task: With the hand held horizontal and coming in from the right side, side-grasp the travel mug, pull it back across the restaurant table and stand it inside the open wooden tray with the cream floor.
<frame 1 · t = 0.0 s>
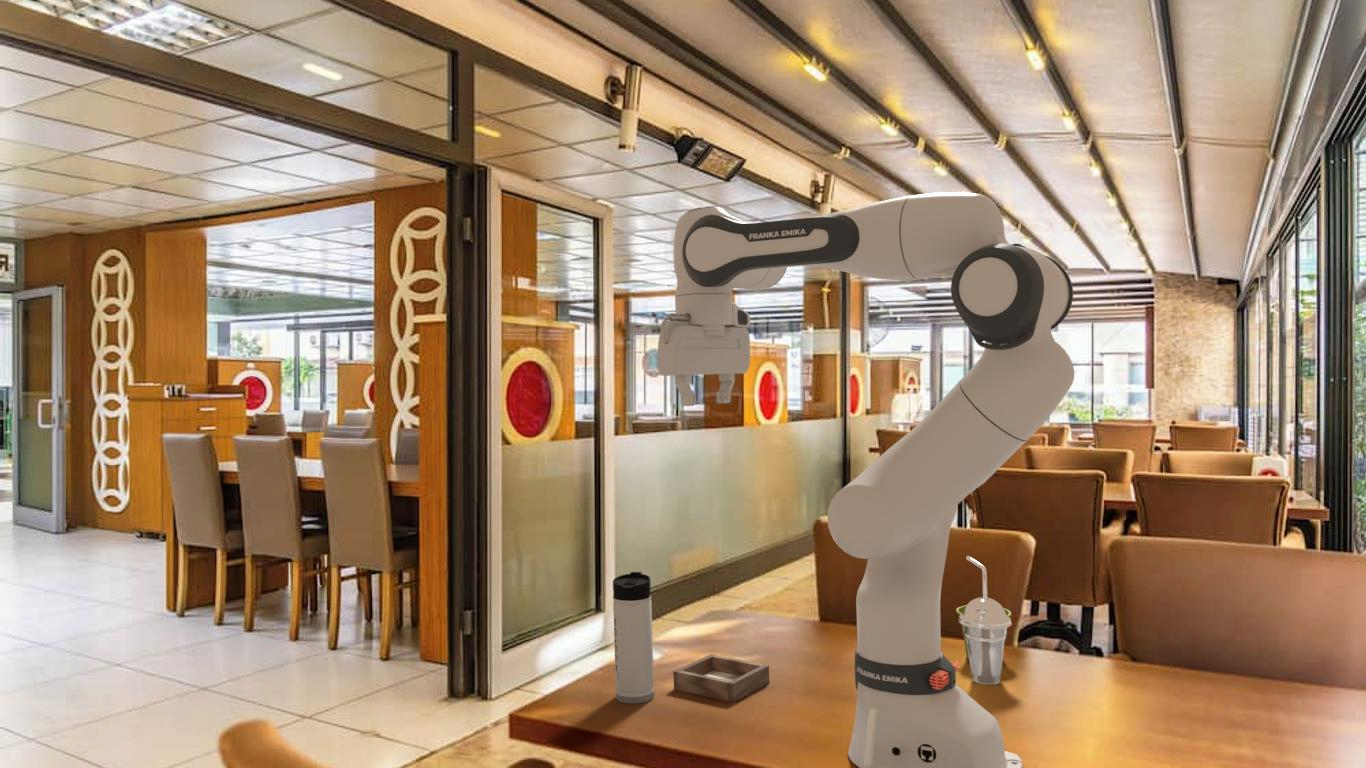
hand: (706, 404, 144), 48 cm above the table, tool pointing down, fingers open, 8 cm apart
plant pot: (984, 660, 168), on the table
open wooden tray: (721, 686, 157), on the table
travel mug: (635, 698, 153), on the table
cup with straw: (986, 680, 156), on the table
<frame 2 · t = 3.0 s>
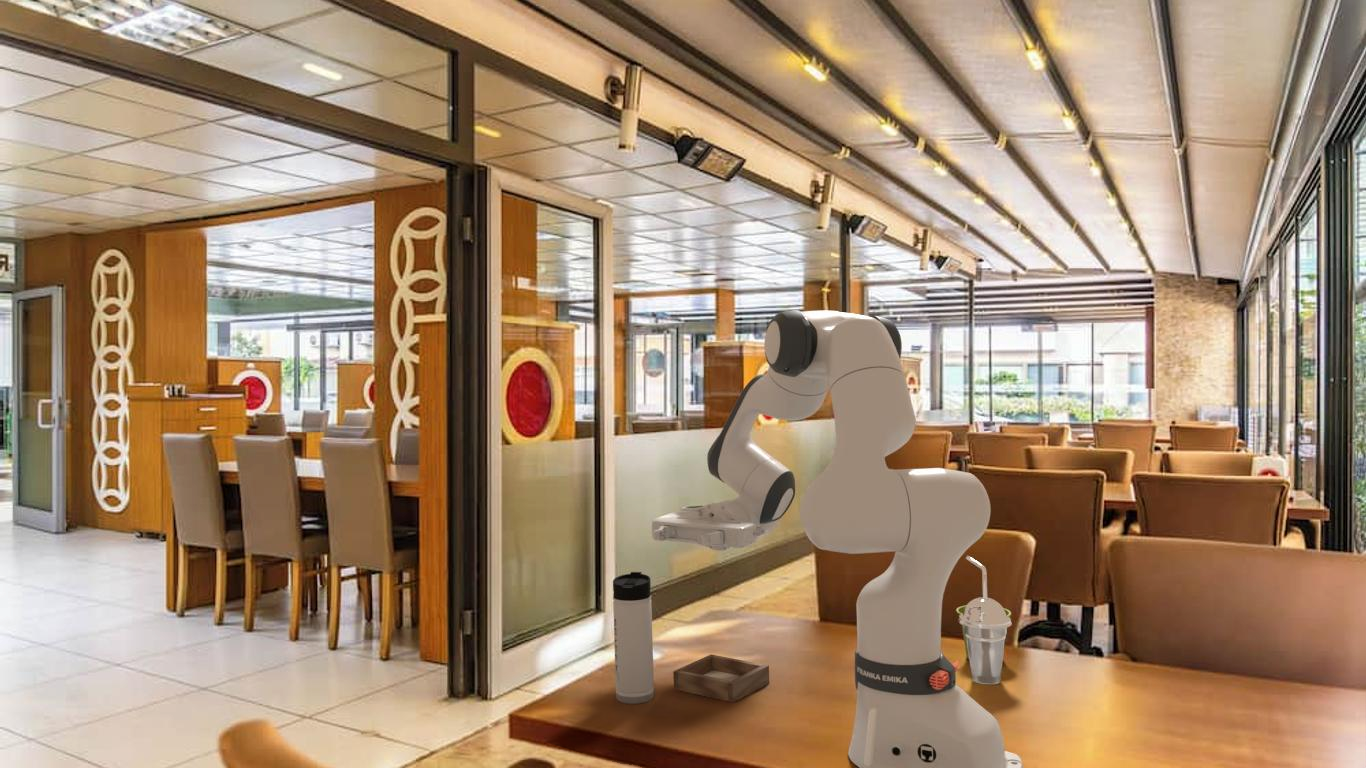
hand: (677, 538, 163), 24 cm above the table, tool horizontal, fingers open, 8 cm apart
nothing on the table moved.
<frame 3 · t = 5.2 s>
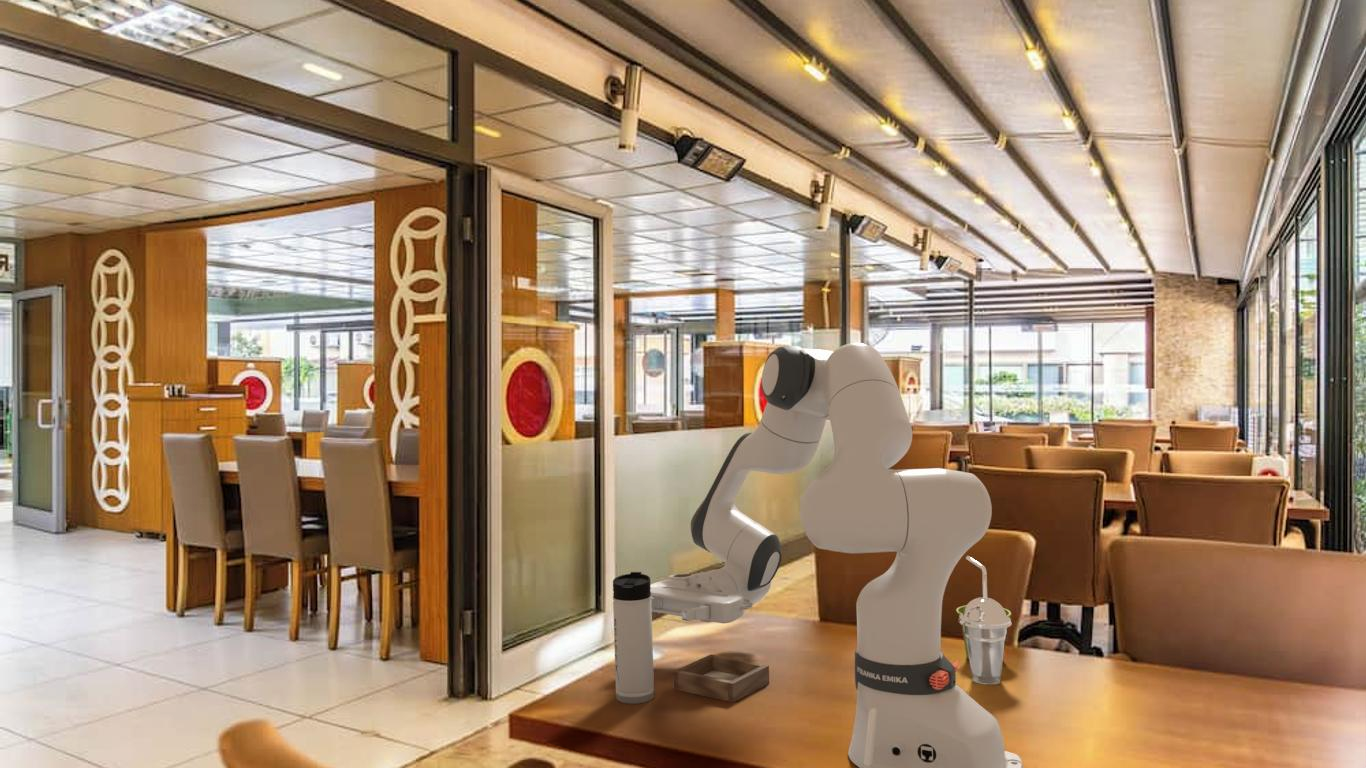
hand: (663, 612, 160), 12 cm above the table, tool horizontal, fingers open, 8 cm apart
nothing on the table moved.
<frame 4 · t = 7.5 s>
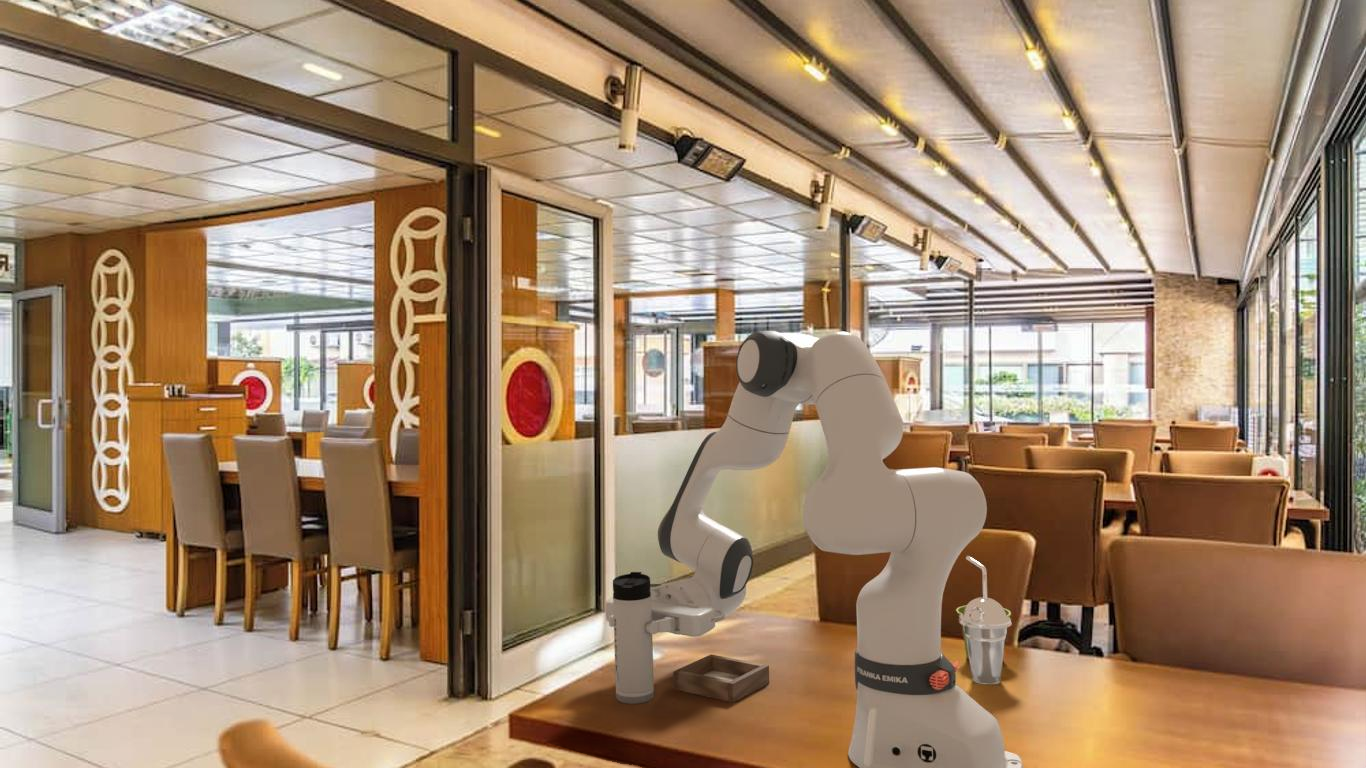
hand: (629, 625, 152), 12 cm above the table, tool horizontal, fingers closed on travel mug, 6 cm apart
travel mug: (635, 698, 153), on the table, touching gripper
everything else where it was.
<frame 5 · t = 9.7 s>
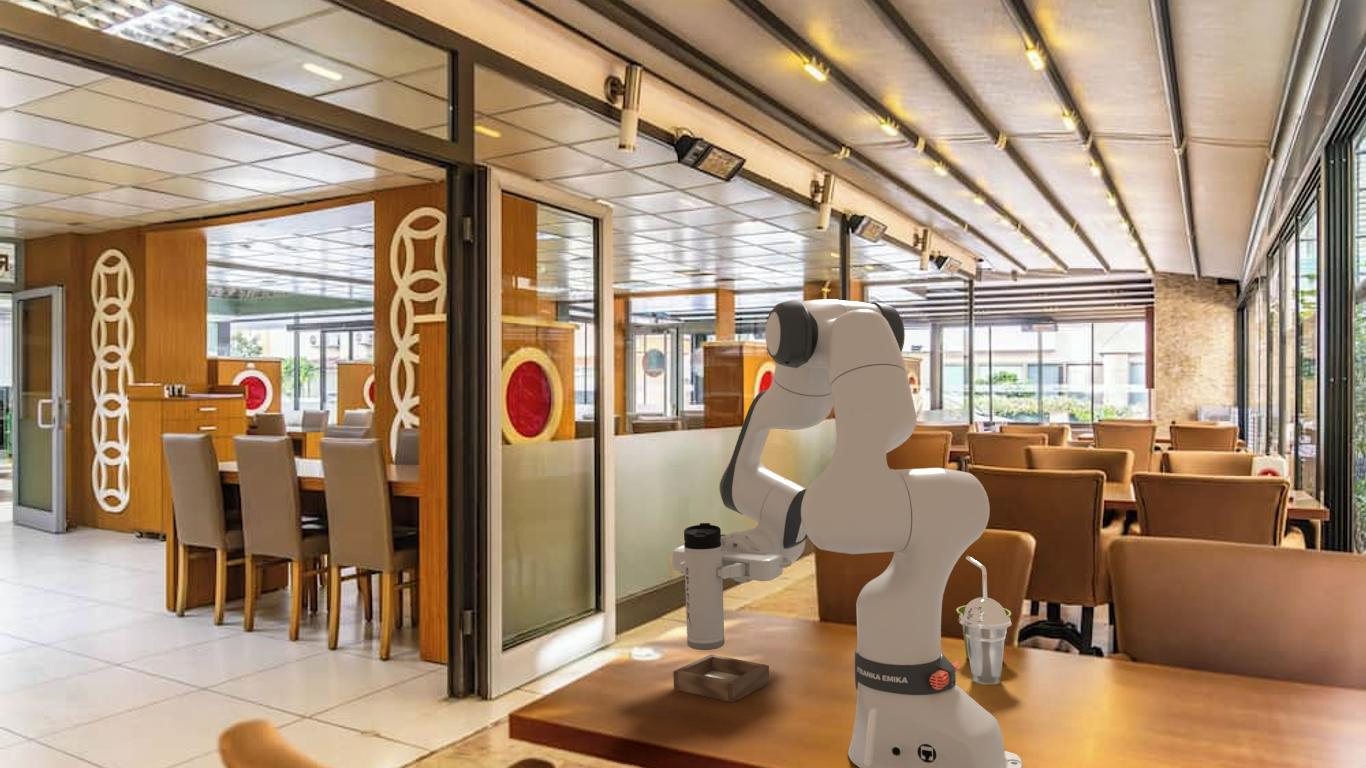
hand: (701, 571, 156), 20 cm above the table, tool horizontal, fingers closed on travel mug, 6 cm apart
travel mug: (706, 645, 157), point 7 cm above the table, touching gripper
everything else where it was.
when the fingers open (14 cm above the table, at t = 12.0 s): travel mug stays where it is, resting on open wooden tray.
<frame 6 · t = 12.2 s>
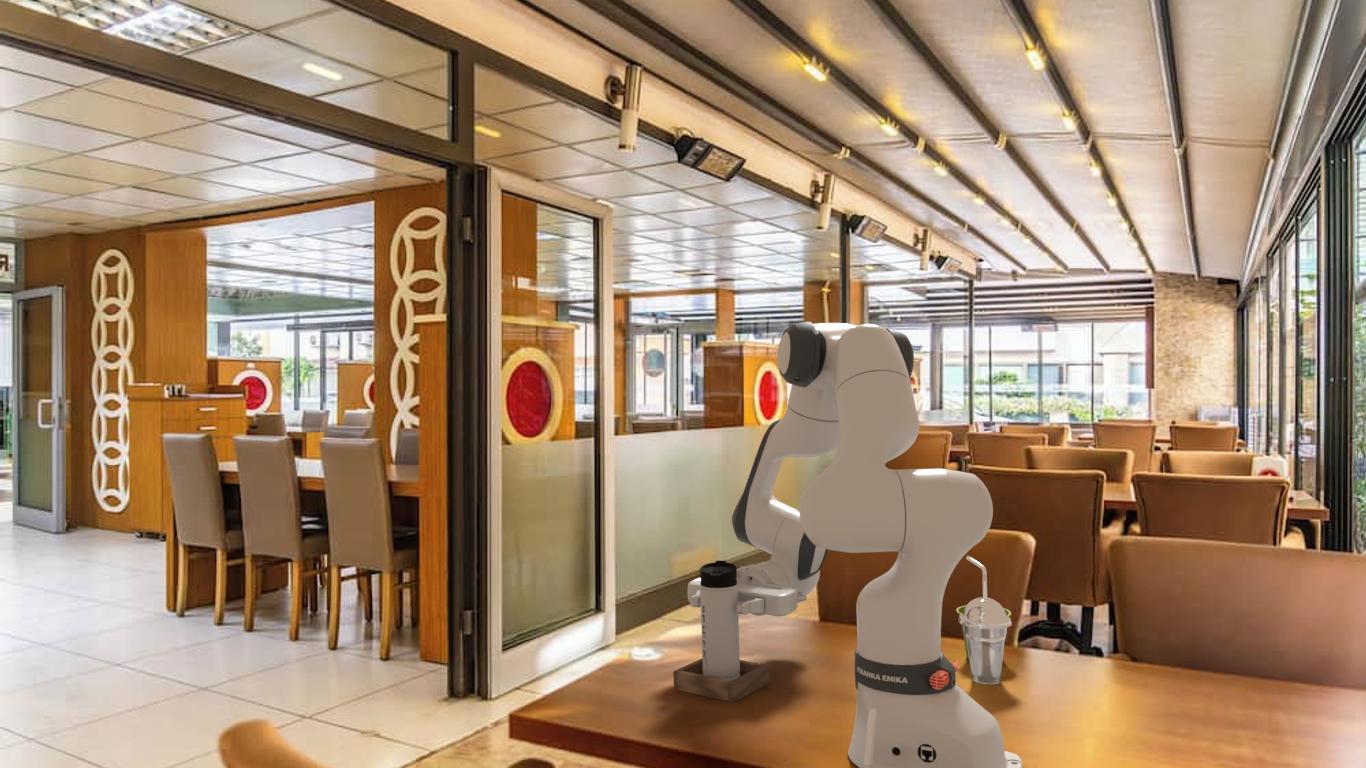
hand: (716, 605, 156), 14 cm above the table, tool horizontal, fingers open, 8 cm apart
travel mug: (721, 683, 157), resting on open wooden tray
everything else where it was.
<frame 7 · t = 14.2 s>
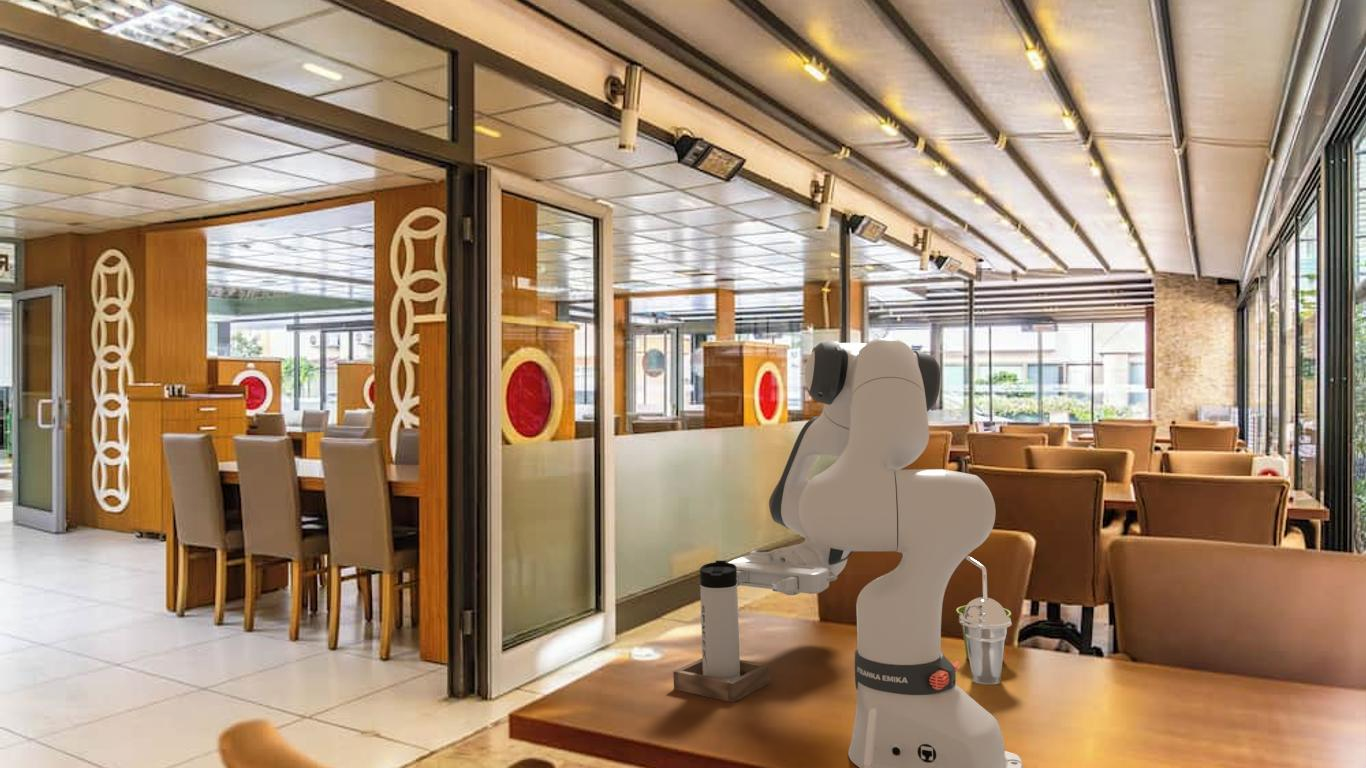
hand: (752, 584, 165), 15 cm above the table, tool horizontal, fingers open, 8 cm apart
nothing on the table moved.
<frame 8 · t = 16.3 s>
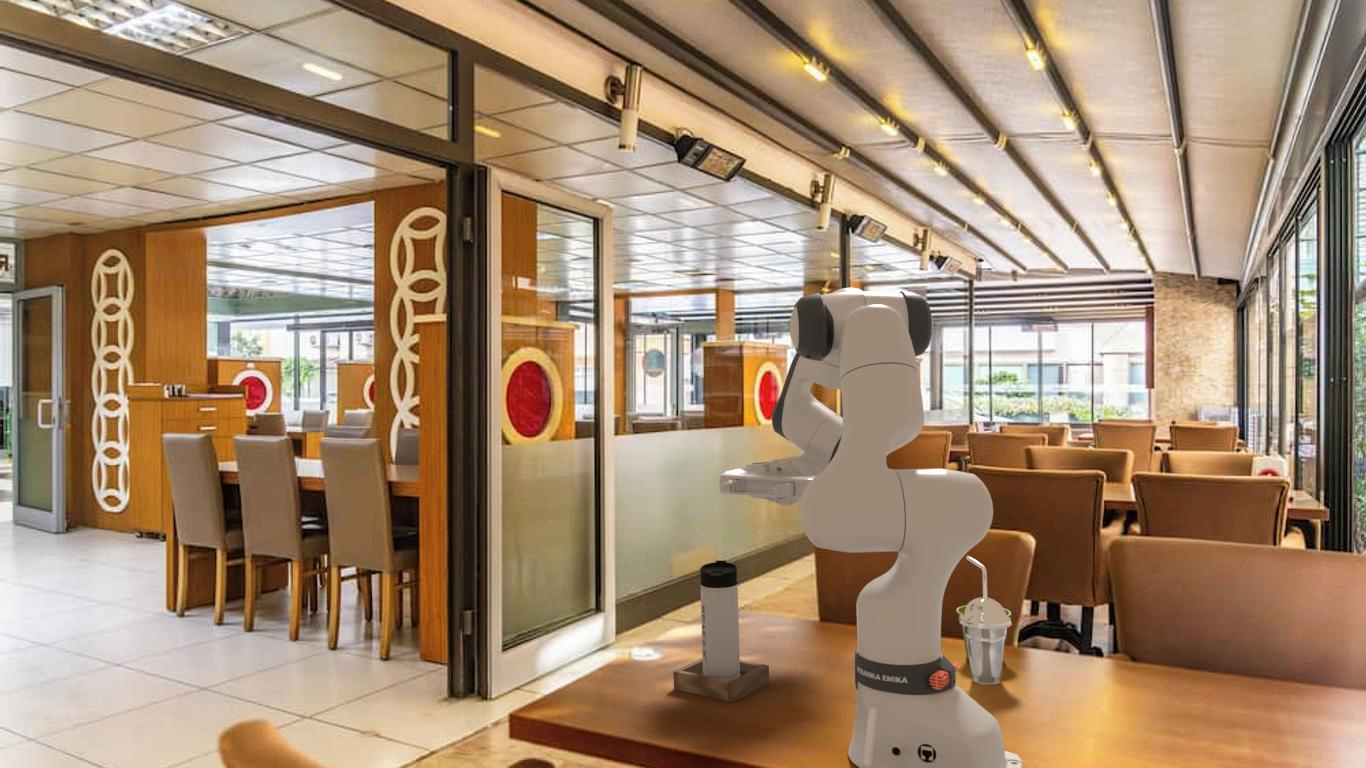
hand: (748, 489, 165), 32 cm above the table, tool horizontal, fingers open, 8 cm apart
nothing on the table moved.
at the end: travel mug inside the target area on the open wooden tray (0.1 cm from its centre), point 0.4 cm above the open wooden tray's base; travel mug tilted 0°; the gripper is holding nothing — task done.
